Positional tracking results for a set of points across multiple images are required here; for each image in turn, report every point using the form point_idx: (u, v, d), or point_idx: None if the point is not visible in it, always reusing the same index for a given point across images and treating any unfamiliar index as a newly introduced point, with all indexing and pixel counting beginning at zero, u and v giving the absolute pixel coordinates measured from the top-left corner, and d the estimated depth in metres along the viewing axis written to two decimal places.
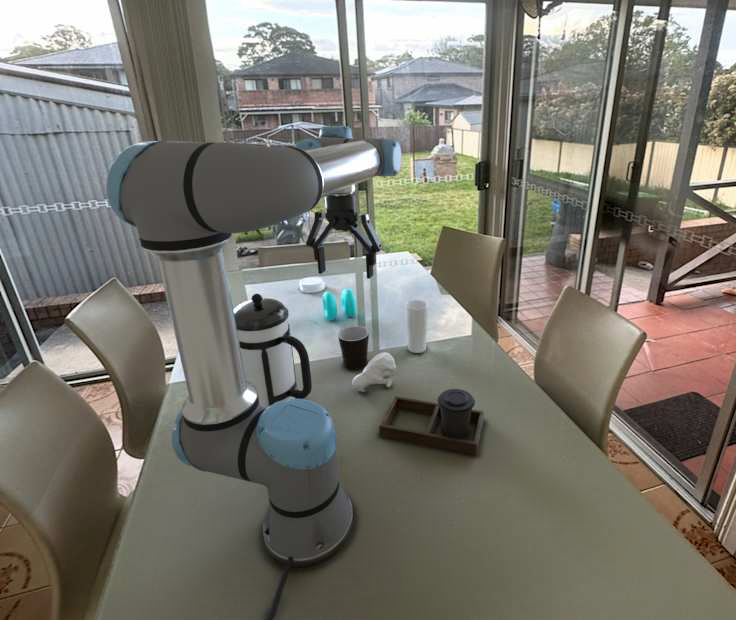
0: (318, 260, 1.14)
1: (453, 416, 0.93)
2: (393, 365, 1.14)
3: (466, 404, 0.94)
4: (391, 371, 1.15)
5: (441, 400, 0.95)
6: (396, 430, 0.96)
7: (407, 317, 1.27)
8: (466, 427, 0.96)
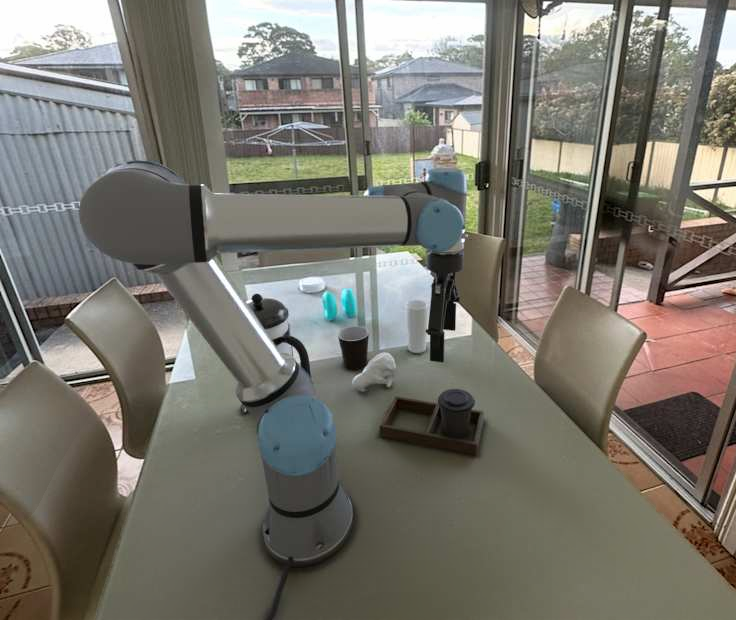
0: None
1: (453, 416, 0.93)
2: (393, 365, 1.14)
3: (466, 404, 0.94)
4: (391, 371, 1.15)
5: (441, 400, 0.95)
6: (396, 430, 0.96)
7: (407, 317, 1.27)
8: (466, 427, 0.96)
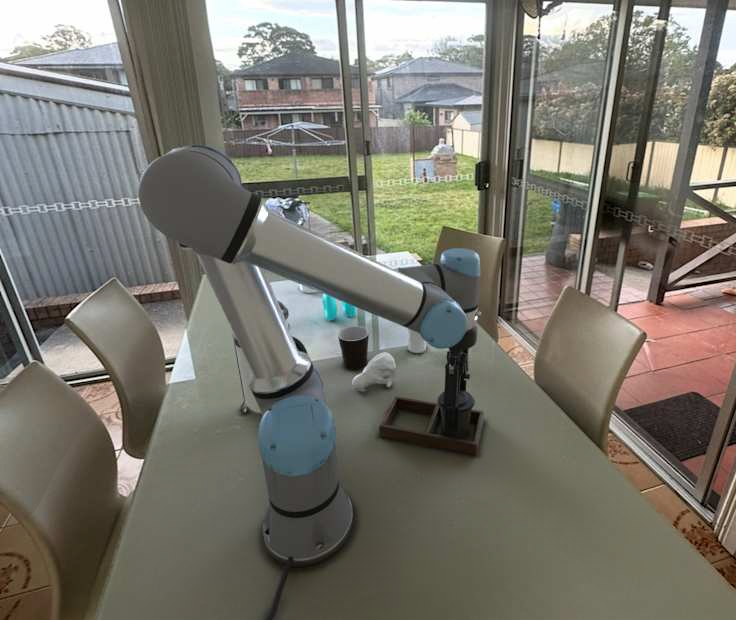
0: None
1: None
2: (393, 365, 1.14)
3: (466, 404, 0.94)
4: (391, 371, 1.15)
5: (441, 400, 0.95)
6: (396, 430, 0.96)
7: None
8: (466, 427, 0.96)
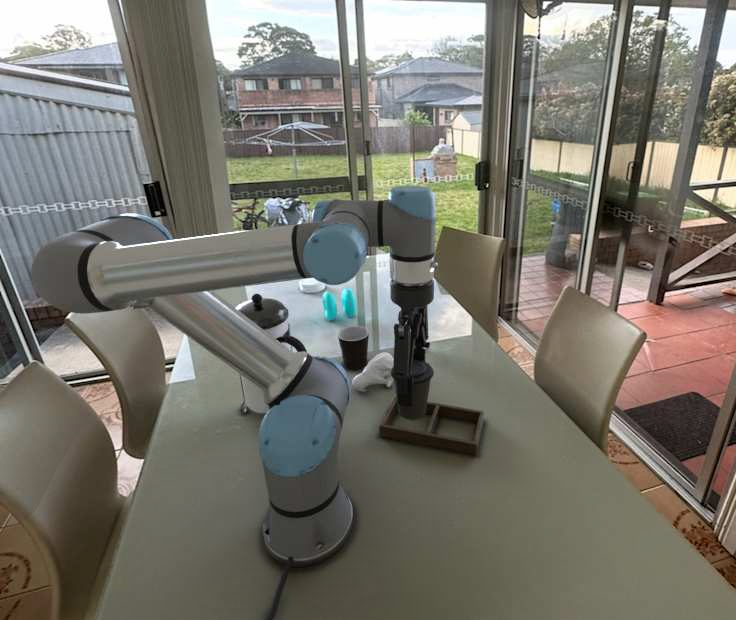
0: None
1: None
2: None
3: (423, 375, 0.80)
4: None
5: None
6: (396, 430, 0.96)
7: None
8: (424, 403, 0.82)
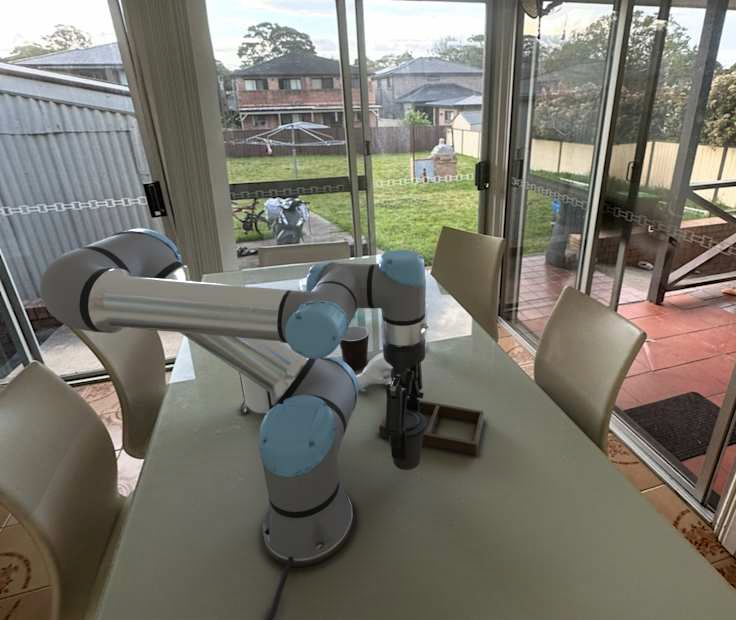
0: None
1: None
2: None
3: (416, 428, 0.82)
4: None
5: None
6: None
7: None
8: (417, 454, 0.84)
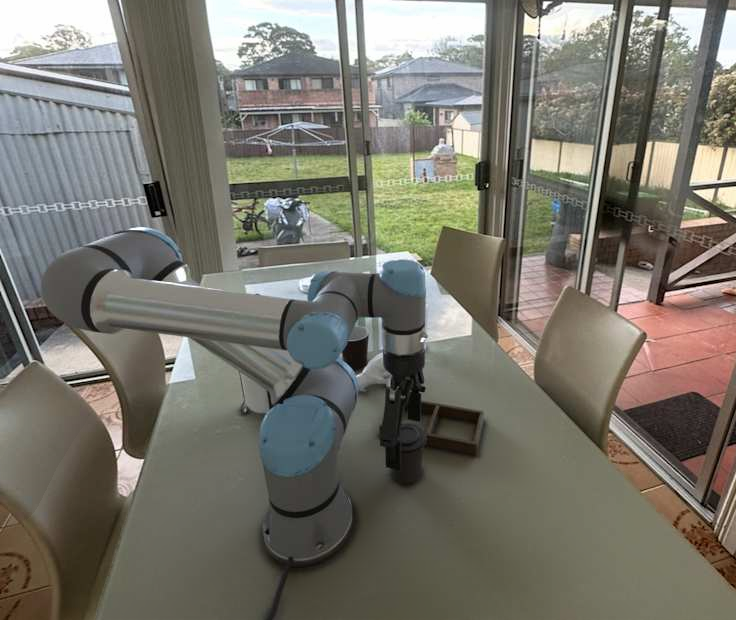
0: None
1: (401, 456, 0.83)
2: None
3: (416, 443, 0.83)
4: None
5: None
6: None
7: None
8: (417, 468, 0.85)
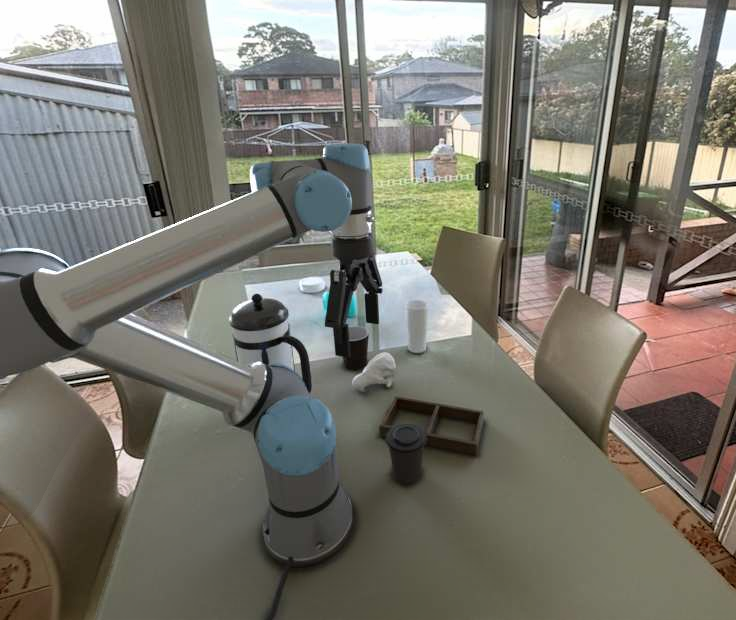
0: None
1: (401, 456, 0.83)
2: (393, 365, 1.14)
3: (416, 443, 0.83)
4: (391, 371, 1.15)
5: (389, 438, 0.85)
6: None
7: (407, 317, 1.27)
8: (417, 468, 0.85)
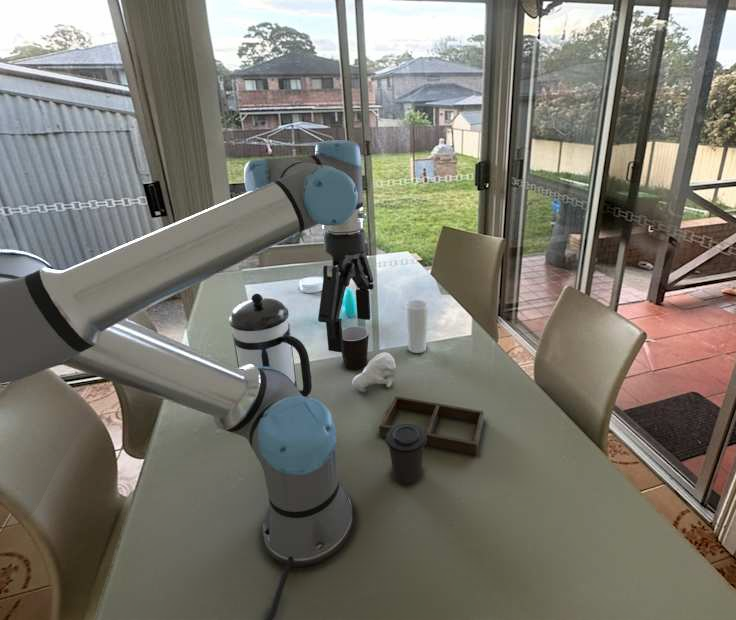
0: None
1: (401, 456, 0.83)
2: (393, 365, 1.14)
3: (416, 443, 0.83)
4: (391, 371, 1.15)
5: (389, 438, 0.85)
6: None
7: (407, 317, 1.27)
8: (417, 468, 0.85)
